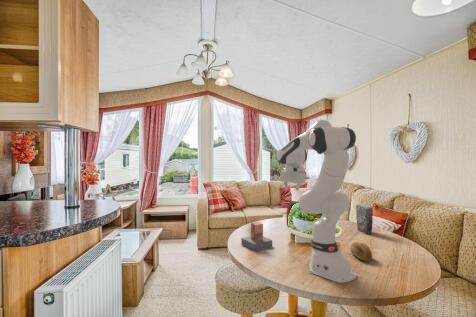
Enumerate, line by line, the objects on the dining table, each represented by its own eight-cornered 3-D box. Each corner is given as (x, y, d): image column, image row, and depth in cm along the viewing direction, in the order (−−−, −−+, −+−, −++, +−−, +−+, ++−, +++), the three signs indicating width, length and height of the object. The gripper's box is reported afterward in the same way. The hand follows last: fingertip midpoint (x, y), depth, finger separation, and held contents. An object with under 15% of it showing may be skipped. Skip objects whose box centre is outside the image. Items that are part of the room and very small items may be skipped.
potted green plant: (298, 224, 211) (299, 200, 211) (301, 227, 203) (301, 202, 203) (285, 224, 211) (286, 200, 211) (287, 227, 204) (287, 202, 203)
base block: (272, 246, 159) (272, 240, 159) (254, 251, 152) (254, 244, 152) (258, 240, 171) (258, 234, 171) (241, 244, 163) (241, 238, 163)
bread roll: (359, 263, 135) (359, 248, 135) (346, 252, 150) (346, 239, 150) (376, 263, 135) (376, 248, 135) (362, 252, 150) (362, 239, 150)
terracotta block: (262, 239, 161) (262, 223, 161) (256, 241, 158) (256, 225, 158) (257, 237, 165) (257, 221, 165) (250, 238, 162) (250, 223, 162)
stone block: (354, 229, 197) (354, 204, 197) (362, 229, 198) (362, 203, 198) (366, 234, 184) (366, 207, 184) (374, 234, 185) (374, 207, 185)
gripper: (277, 168, 173) (277, 188, 173) (300, 169, 156) (300, 191, 156) (284, 167, 176) (284, 187, 176) (307, 168, 159) (307, 191, 159)
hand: (291, 189), depth 166 cm, fingers open, 8 cm apart
